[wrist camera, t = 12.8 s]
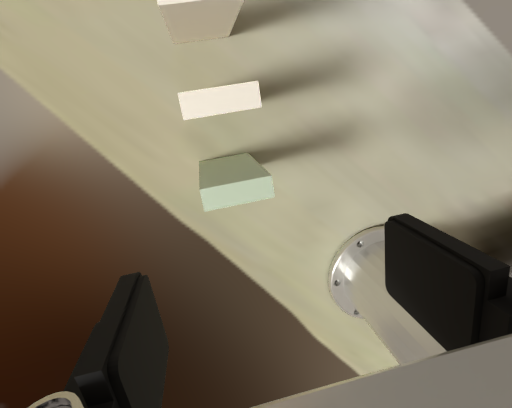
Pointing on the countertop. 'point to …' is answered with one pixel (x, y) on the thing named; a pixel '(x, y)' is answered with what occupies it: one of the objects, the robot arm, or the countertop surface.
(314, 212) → the countertop surface
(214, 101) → the domino
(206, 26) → the domino
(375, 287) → the robot arm
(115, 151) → the countertop surface
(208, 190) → the domino
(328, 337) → the countertop surface
